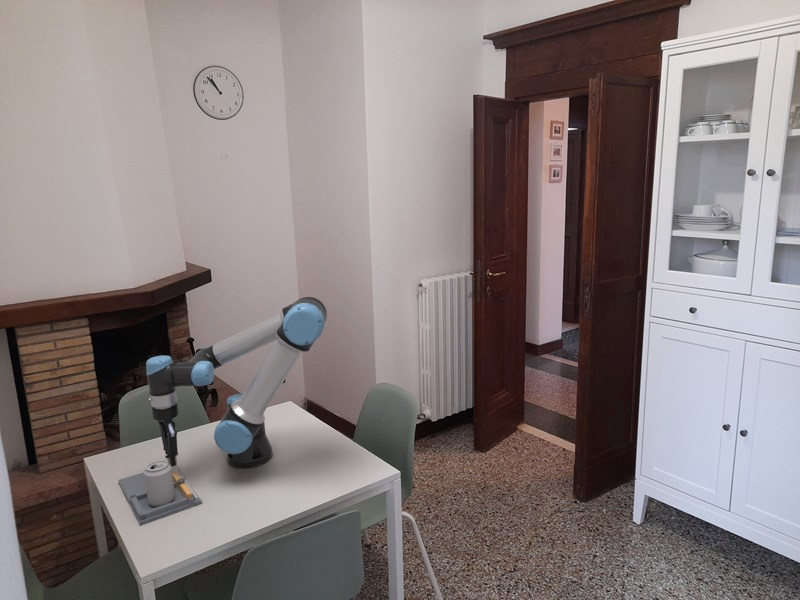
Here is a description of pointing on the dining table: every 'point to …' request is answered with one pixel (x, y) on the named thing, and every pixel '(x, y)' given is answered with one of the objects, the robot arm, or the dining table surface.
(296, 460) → the dining table surface
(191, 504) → the housing
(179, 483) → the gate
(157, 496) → the can
